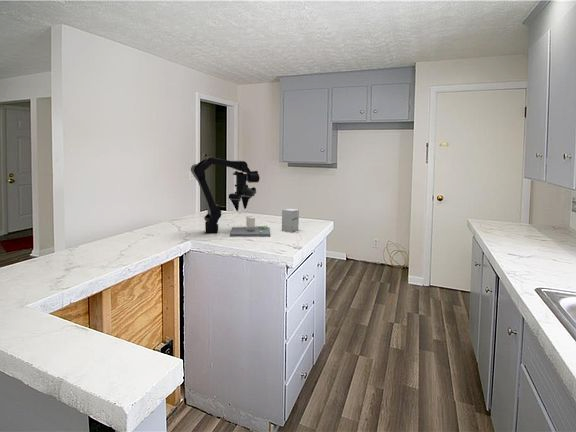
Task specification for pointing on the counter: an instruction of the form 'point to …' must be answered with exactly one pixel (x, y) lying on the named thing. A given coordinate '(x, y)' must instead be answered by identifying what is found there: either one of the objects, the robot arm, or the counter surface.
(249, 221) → the tuning peg
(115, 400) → the counter surface
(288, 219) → the supplement box
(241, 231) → the dial plate
